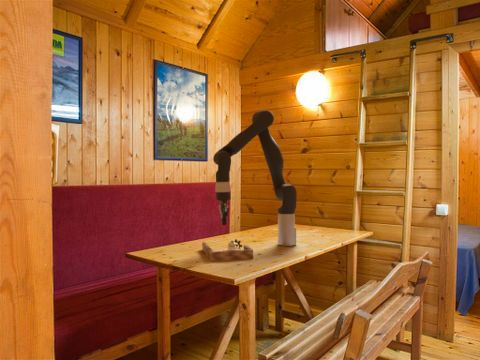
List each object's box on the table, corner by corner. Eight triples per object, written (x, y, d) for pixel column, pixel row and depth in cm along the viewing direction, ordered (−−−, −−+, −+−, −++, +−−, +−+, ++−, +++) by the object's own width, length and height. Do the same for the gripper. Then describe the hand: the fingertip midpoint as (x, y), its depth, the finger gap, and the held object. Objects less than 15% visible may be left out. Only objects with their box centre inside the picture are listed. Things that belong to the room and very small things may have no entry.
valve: (238, 257, 175) (242, 252, 187) (238, 243, 175) (242, 239, 186) (224, 257, 176) (229, 251, 188) (224, 243, 176) (229, 238, 188)
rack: (239, 247, 197) (239, 239, 197) (253, 258, 172) (253, 248, 172) (202, 249, 192) (202, 241, 192) (210, 261, 167) (210, 251, 167)
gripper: (233, 191, 182) (234, 226, 182) (227, 189, 194) (228, 222, 195) (218, 192, 180) (219, 227, 180) (213, 190, 193) (214, 223, 193)
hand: (224, 225), depth 188 cm, fingers closed
